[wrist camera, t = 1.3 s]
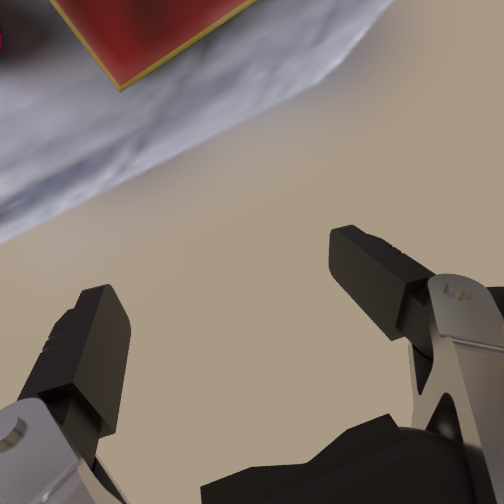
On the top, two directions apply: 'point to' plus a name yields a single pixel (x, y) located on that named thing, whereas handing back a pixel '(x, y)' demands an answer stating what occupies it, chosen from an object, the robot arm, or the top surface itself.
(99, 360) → the robot arm
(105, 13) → the hardcover book
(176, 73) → the top surface
